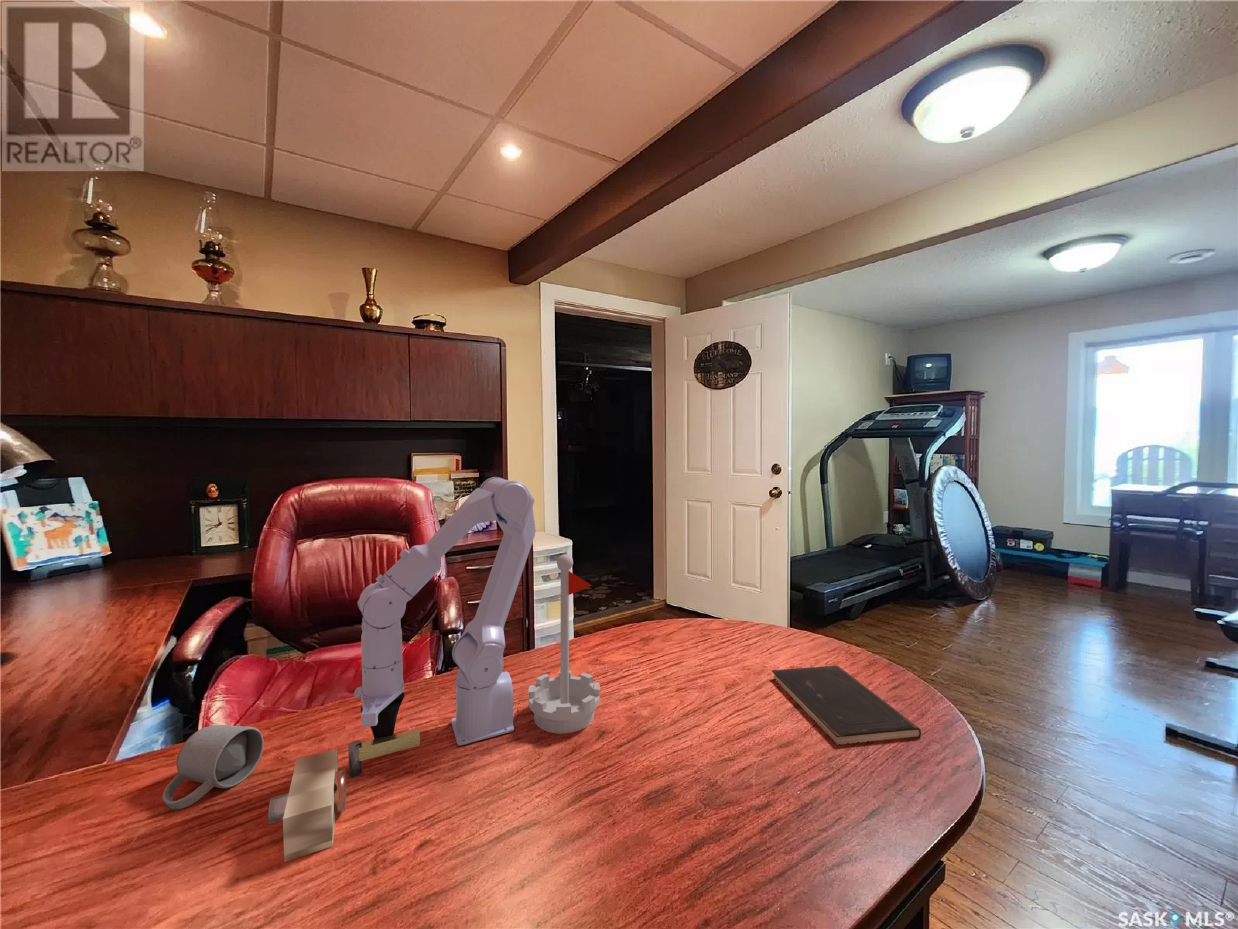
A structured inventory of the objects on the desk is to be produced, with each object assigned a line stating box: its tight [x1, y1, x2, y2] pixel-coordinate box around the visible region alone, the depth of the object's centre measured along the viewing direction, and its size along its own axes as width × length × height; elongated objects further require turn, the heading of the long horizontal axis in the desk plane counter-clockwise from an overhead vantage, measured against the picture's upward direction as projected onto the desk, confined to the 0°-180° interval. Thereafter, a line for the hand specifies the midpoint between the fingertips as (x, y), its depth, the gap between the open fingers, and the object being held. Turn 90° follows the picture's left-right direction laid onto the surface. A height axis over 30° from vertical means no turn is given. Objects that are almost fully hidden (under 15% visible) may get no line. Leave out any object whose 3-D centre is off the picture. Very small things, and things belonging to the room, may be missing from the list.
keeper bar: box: [347, 728, 421, 778], centre depth 75 cm, size 10×2×5 cm, turn 117°
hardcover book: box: [771, 665, 922, 746], centre depth 94 cm, size 16×23×2 cm
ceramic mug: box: [162, 724, 265, 811], centre depth 71 cm, size 11×8×8 cm
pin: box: [267, 769, 347, 824], centre depth 64 cm, size 8×5×5 cm, turn 117°
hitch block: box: [282, 748, 339, 863], centre depth 64 cm, size 5×12×5 cm, turn 27°
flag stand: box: [528, 553, 601, 735], centre depth 88 cm, size 13×13×30 cm
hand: (384, 744), depth 77 cm, fingers closed
